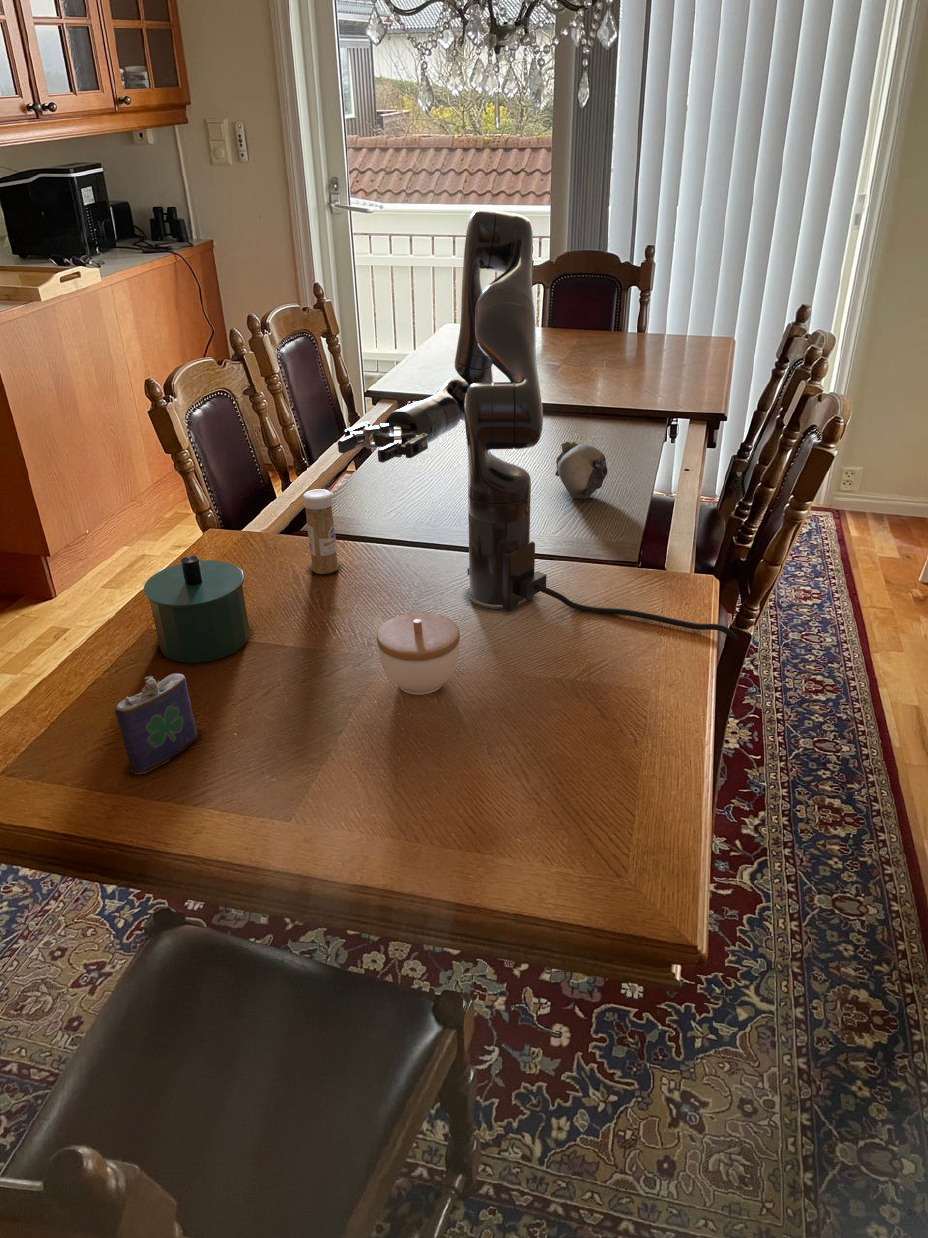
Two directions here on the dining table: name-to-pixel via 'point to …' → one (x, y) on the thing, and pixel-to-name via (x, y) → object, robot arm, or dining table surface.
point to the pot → (202, 629)
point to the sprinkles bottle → (321, 530)
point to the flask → (156, 723)
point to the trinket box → (419, 651)
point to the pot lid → (193, 583)
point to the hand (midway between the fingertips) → (359, 452)
